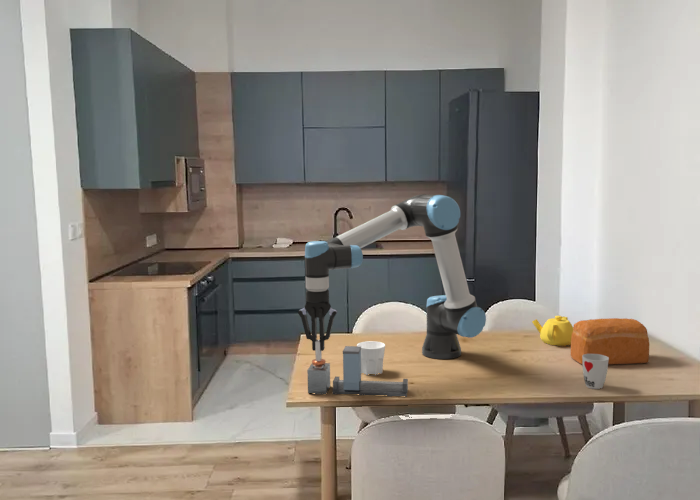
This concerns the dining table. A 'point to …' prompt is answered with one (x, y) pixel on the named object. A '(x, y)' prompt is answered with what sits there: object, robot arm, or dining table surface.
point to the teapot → (555, 331)
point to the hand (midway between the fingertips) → (318, 360)
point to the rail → (369, 392)
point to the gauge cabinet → (318, 379)
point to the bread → (611, 340)
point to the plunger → (318, 363)
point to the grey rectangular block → (351, 367)
